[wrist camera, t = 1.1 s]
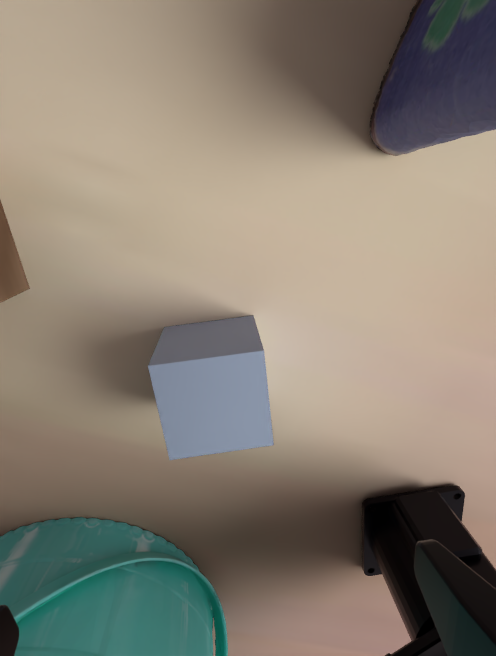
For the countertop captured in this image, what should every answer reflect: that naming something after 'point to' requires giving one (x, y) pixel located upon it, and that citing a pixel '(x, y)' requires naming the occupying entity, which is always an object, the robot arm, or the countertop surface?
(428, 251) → the countertop surface
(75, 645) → the basket
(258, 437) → the cube
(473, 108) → the flask
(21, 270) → the pedestal
